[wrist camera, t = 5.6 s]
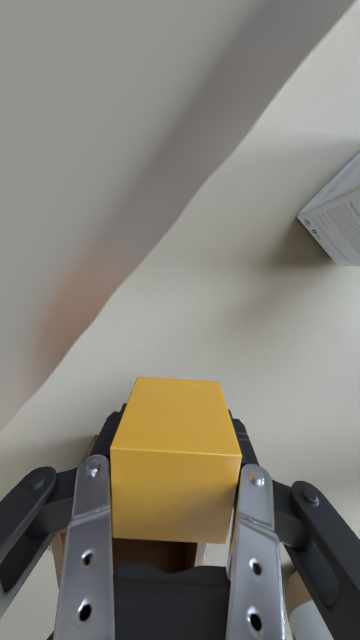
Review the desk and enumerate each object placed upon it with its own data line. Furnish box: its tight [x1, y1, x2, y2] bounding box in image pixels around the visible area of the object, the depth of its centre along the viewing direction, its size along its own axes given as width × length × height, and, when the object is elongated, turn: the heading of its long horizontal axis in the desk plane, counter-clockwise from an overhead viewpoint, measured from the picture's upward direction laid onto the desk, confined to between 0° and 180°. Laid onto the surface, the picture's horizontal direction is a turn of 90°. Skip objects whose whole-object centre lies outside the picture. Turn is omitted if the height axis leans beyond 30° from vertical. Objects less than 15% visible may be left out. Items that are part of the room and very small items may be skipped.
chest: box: [51, 435, 207, 588], centre depth 23 cm, size 16×13×9 cm
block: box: [110, 377, 242, 544], centre depth 11 cm, size 5×5×5 cm
